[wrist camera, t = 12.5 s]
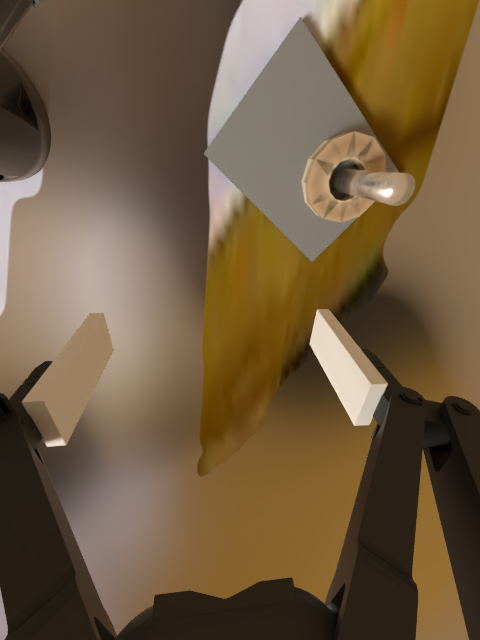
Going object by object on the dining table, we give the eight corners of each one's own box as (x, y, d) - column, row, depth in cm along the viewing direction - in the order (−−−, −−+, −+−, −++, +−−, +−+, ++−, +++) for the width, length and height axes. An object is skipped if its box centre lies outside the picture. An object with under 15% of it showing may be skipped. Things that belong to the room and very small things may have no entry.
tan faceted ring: (287, 182, 39) (293, 184, 37) (346, 114, 35) (357, 110, 33) (331, 232, 44) (338, 236, 41) (387, 176, 40) (399, 177, 37)
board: (203, 153, 37) (203, 153, 36) (296, 22, 31) (300, 16, 30) (309, 259, 47) (312, 262, 46) (394, 174, 41) (400, 175, 40)
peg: (325, 180, 39) (380, 191, 27) (341, 163, 38) (406, 166, 26) (337, 195, 41) (395, 211, 28) (352, 179, 40) (420, 188, 27)
